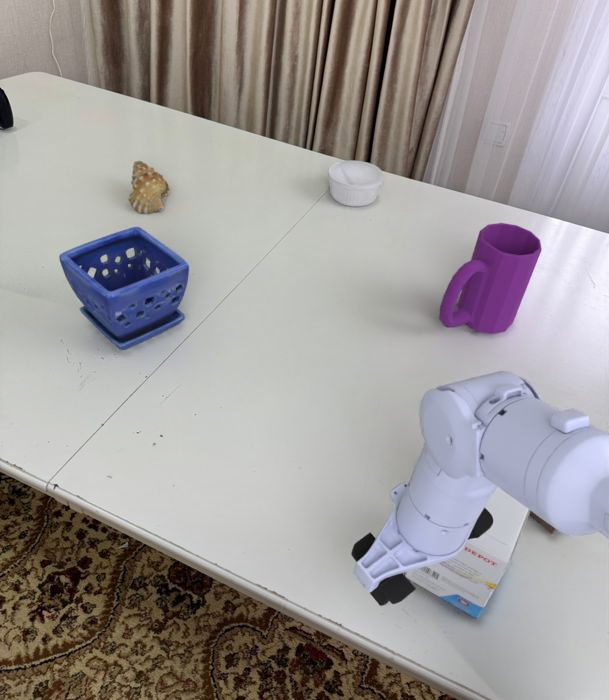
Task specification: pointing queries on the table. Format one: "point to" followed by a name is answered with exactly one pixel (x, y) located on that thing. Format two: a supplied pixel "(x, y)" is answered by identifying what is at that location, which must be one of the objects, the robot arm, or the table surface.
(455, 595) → the ink box
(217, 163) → the table surface
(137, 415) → the table surface
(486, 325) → the mug
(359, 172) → the ramekin
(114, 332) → the flower pot
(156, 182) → the seashell
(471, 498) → the robot arm
